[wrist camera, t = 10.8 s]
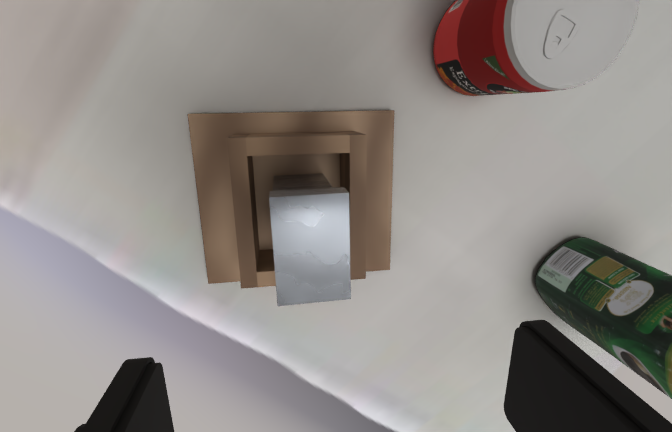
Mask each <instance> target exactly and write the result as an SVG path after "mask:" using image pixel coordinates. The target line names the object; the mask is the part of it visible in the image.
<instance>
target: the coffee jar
mask: <svg viewBox="0 0 672 432" xmlns="http://www.w3.org/2000/svg"><path fill="white" fill-rule="evenodd" d="M535 283H536V287H537V290H538V292H539V293H540V295H541V297H542V298H543V300H544V301H545V302H546V304H547V305H548V306H549V307H550V308H551V310H552V311H553V312H554V313H555V314H556V315H557V316H558V317H560V318H561V319H562V320H563V321H565V322H566V323H567V324H569V325H570V326H571V327H573V328H574V329H576V330H577V331H578V332H580V333H581V334H583V335H584V336H586V337H587V338H588V339H590V340H591V341H593V342H594V343H596V344H597V345H598V346H600V347H601V348H603V349H604V350H605V351H607V352H608V353H609V354H611V355H612V356H614V357H615V358H616V359H618V360H619V361H620V362H622V363H623V364H625V365H626V366H627V367H629V368H630V369H631V370H633V371H634V372H636V373H637V374H638V375H640V376H641V377H642V378H644V379H645V380H647V381H648V382H649V383H651V384H652V385H653V386H655V387H656V388H657V389H659V390H660V391H662V392H663V393H664V394H666V395H667V396H669V397H670V398H671V399H672V275H669V274H667V273H665V272H662V271H660V270H658V269H656V268H653V267H651V266H649V265H647V264H645V263H642V262H640V261H638V260H636V259H634V258H632V257H629V256H627V255H625V254H623V253H621V252H619V251H617V250H614V249H612V248H610V247H608V246H606V245H603V244H601V243H599V242H596V241H594V240H592V239H589V238H576V239H573V240H570V241H568V242H567V243H565V244H563V245H562V246H560V247H558V248H557V249H556V250H555V251H553V252H552V253H551V254H550V255H549V256H548V257H547V258H546V259H545V261H544V262H543V264H542V265H541V267H540V268H539V270H538V272H537V275H536V280H535Z"/></svg>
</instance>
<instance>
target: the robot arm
mask: <svg viewBox="0 0 672 432" xmlns="http://www.w3.org/2000/svg"><path fill="white" fill-rule="evenodd" d="M504 411H505V415H506V417H507V419H508V421H509V422H510V424H511V425H512V426H513V428H514V429H515V431H516V432H672V424H671V423H670V422H669V421H668V420H666V419H665V418H664V417H663V416H662V415H660V414H659V413H658V412H657V411H655V410H654V409H653V408H652V407H651V406H649V405H648V404H647V403H646V402H645V401H643V400H642V399H641V398H640V397H638V396H637V395H636V394H635V393H634V392H632V391H631V390H630V389H629V388H628V387H626V386H625V385H624V384H623V383H621V382H620V381H619V380H618V379H617V378H615V377H614V376H613V375H612V374H611V373H609V372H608V371H607V370H606V369H604V368H603V367H602V366H601V365H600V364H598V363H597V362H596V361H595V360H594V359H592V358H591V357H590V356H589V355H587V354H586V353H585V352H584V351H583V350H581V349H580V348H579V347H578V346H577V345H575V344H574V343H573V342H572V341H570V340H569V339H568V338H567V337H566V336H564V335H563V334H562V333H561V332H560V331H558V330H557V329H556V328H555V327H554V326H552V325H551V324H550V323H549V322H547V321H545V320H535V321H525V322H522V323H521V324H520V327H519V328H517V329H516V330H515V334H514V341H513V347H512V354H511V361H510V367H509V374H508V381H507V387H506V394H505V401H504ZM74 432H174V428H173V423H172V417H171V411H170V406H169V400H168V395H167V390H166V384H165V378H164V373H163V367H162V364H161V363H155V362H154V359H153V358H151V357H149V358H139V359H128V360H126V361H125V362H124V363H123V364H122V366H121V368H120V369H119V371H118V372H117V374H116V376H115V377H114V379H113V380H112V382H111V384H110V385H109V387H108V389H107V390H106V392H105V393H104V395H103V397H102V398H101V400H100V402H99V403H98V405H97V407H96V408H95V410H94V411H93V413H92V415H91V416H90V418H89V419H88V421H87V423H86V424H82V425H81V426H79V427H78V428H77V429H76V430H75V431H74Z"/></svg>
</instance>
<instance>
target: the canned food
mask: <svg viewBox="0 0 672 432" xmlns="http://www.w3.org/2000/svg"><path fill="white" fill-rule="evenodd" d="M638 7H639V0H456V1H455V2H454V3H453V4H452V5H451V6H450V7H449V9H448V10H447V11H446V13H445V15H444V16H443V18H442V20H441V22H440V24H439V26H438V29H437V31H436V35H435V39H434V49H433V54H434V61H435V65H436V68H437V71H438V73H439V75H440V76H441V78H442V79H443V81H444V82H445V83H446V84H447V85H448V86H450V87H451V88H452V89H454V90H455V91H457V92H459V93H462V94H464V95H470V96H478V95H496V94H513V93H530V92H546V91H555V90H566V89H569V88H574V87H577V86H581V85H584V84H586V83H588V82H589V81H591V80H593V79H595V78H596V77H598V76H599V75H600V74H602V73H603V72H604V71H605V70H607V68H608V67H609V66H610V65H611V64H612V63H613V62H614V61H615V60H616V59H617V57H618V56H619V54H620V53H621V51H622V50H623V48H624V47H625V45H626V43H627V41H628V39H629V37H630V35H631V33H632V30H633V27H634V24H635V21H636V18H637V13H638Z"/></svg>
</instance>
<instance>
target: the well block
mask: <svg viewBox="0 0 672 432" xmlns="http://www.w3.org/2000/svg"><path fill="white" fill-rule="evenodd" d="M188 121H189V130H190V138H191V146H192V154H193V162H194V170H195V178H196V186H197V195H198V203H199V211H200V219H201V227H202V235H203V243H204V251H205V260H206V268H207V276H208V284H211V283H224V282H237V281H241V288H253V287H265V286H276V279H275V266H274V254H273V241H272V229H271V216H270V204H269V193H270V191H273V180H274V176H280V175H299V174H319V173H323V174H324V176H325V177H326V178H327V180H328V181H329V183H330V184H331V186H332V187H333V188H334V187H344V188H345V189H346V190H347V191H348V192H349V224H350V280H353V279H365V278H366V271H379V270H390V244H391V208H392V173H393V138H394V110H385V111H325V112H264V113H204V114H188Z"/></svg>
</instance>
